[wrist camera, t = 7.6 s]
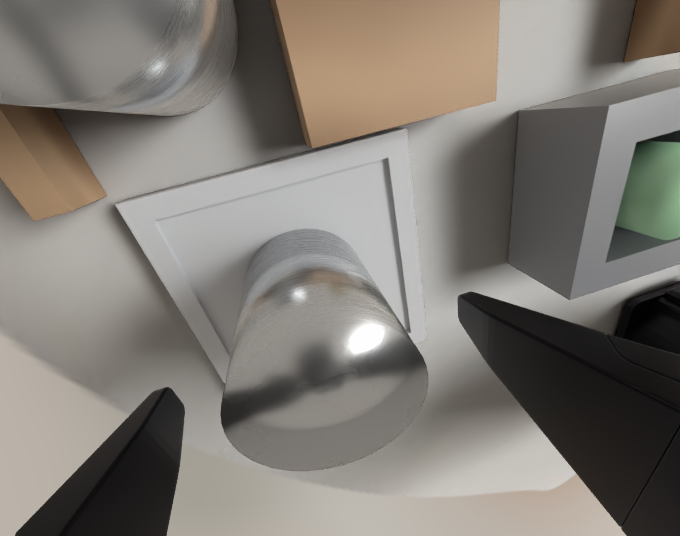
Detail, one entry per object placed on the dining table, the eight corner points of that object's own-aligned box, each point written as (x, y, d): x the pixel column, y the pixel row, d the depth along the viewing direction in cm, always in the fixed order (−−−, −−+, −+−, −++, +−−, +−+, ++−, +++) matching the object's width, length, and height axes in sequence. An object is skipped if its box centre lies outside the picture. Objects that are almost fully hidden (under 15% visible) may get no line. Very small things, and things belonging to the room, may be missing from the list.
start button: (627, 206, 13) (714, 226, 11) (564, 225, 13) (638, 250, 10) (647, 131, 12) (754, 133, 9) (577, 150, 12) (667, 159, 9)
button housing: (628, 225, 15) (717, 251, 12) (507, 263, 15) (569, 299, 12) (672, 69, 12) (810, 50, 9) (519, 110, 11) (609, 105, 8)
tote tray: (420, 329, 16) (427, 339, 15) (237, 388, 15) (235, 401, 14) (398, 127, 11) (406, 128, 10) (126, 199, 10) (114, 204, 9)
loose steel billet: (371, 313, 14) (433, 433, 8) (268, 346, 13) (265, 492, 8) (351, 213, 11) (419, 292, 6) (224, 249, 11) (178, 367, 6)
